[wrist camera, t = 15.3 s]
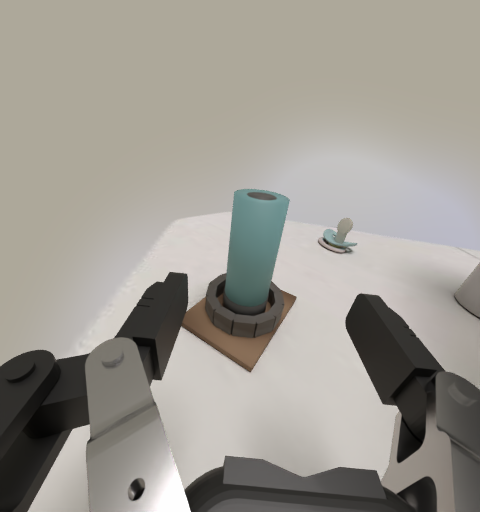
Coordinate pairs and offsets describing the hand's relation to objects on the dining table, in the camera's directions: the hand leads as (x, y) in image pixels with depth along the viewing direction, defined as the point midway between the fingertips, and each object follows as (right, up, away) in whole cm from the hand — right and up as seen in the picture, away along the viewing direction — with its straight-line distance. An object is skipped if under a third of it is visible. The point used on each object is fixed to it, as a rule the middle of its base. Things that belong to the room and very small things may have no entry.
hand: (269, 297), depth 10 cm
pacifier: (+18, +4, +35) cm, 40 cm away
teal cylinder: (-1, -4, +15) cm, 15 cm away
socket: (-1, -4, +15) cm, 16 cm away
